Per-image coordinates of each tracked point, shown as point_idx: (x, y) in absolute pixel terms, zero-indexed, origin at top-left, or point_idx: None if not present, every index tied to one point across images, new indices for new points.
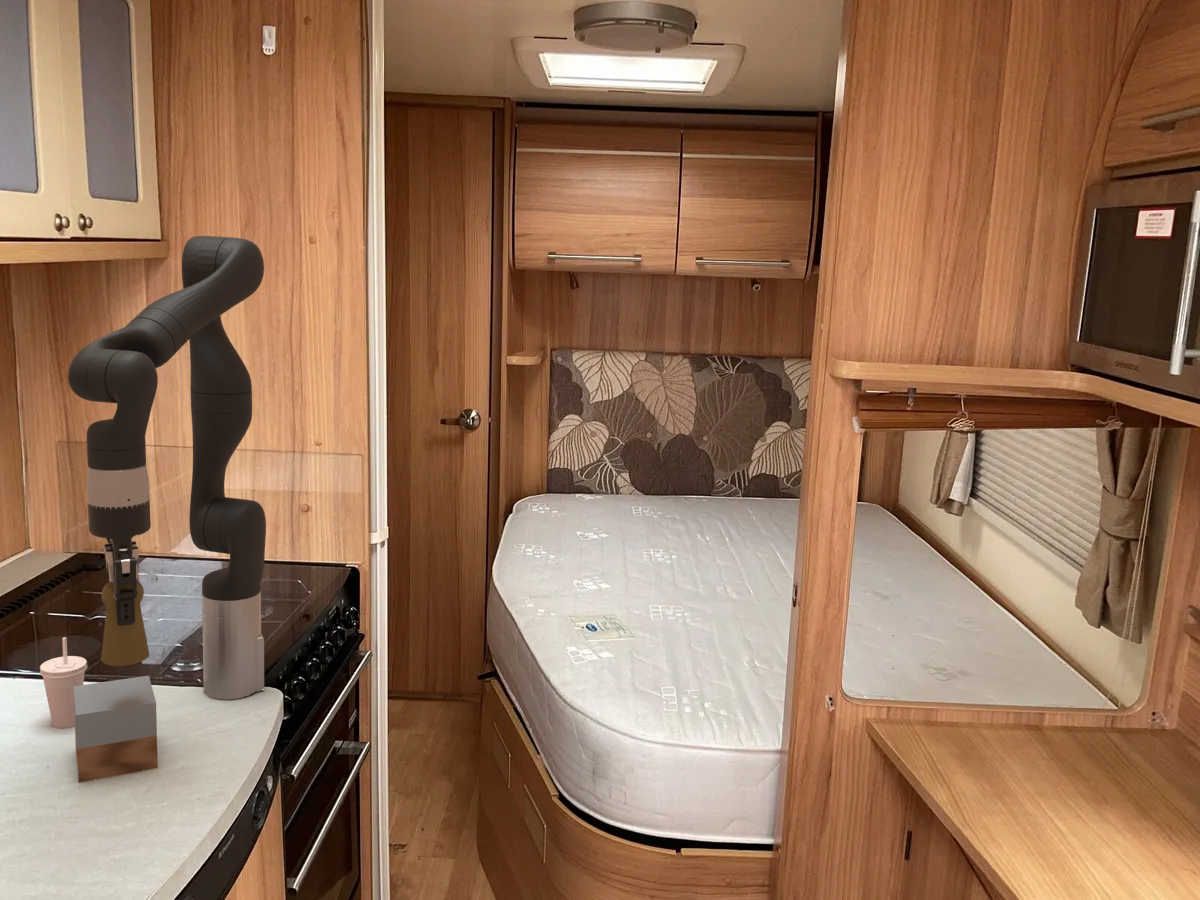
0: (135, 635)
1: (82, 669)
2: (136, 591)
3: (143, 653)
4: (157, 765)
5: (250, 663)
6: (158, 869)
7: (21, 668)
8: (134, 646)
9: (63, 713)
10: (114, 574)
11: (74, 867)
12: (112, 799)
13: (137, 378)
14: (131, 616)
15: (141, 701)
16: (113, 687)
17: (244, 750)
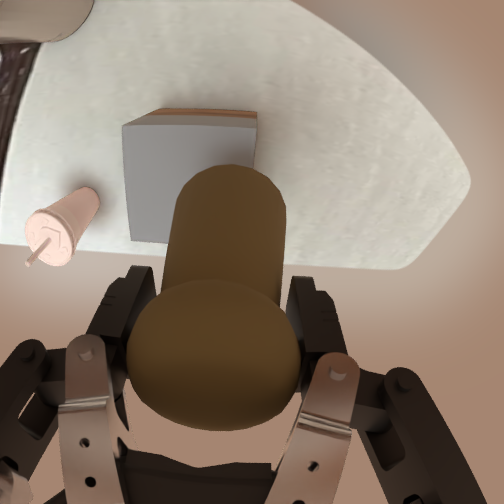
0: (278, 238)
1: (57, 216)
2: (427, 394)
3: (270, 190)
4: (256, 112)
5: None
6: (456, 170)
7: None
8: (283, 226)
9: (93, 212)
10: (128, 424)
11: (410, 227)
12: (309, 174)
13: None
14: (333, 307)
15: (238, 151)
16: (154, 187)
17: (261, 2)
